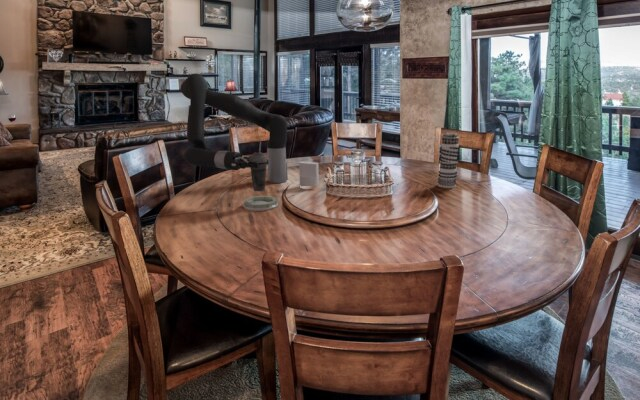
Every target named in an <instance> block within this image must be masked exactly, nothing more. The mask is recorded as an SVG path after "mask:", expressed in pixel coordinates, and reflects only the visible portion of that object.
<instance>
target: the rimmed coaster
mask: <svg viewBox="0 0 640 400" xmlns="http://www.w3.org/2000/svg"><path fill="white" fill-rule="evenodd" d="M243 202H244V203H243V204H242V208H243V209H244V210H246V211H251V212H265V211H266V212H267V211H272V210H274V209H277V208H278V206H279V205H278V204H279V202H278V200H277V198H276V197H275V196H269V195H258V196H257V195H256V196H251V197H247V198H245V199H243Z"/></svg>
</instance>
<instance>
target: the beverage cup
mask: <svg viewBox="0 0 640 400" xmlns="http://www.w3.org/2000/svg"><path fill="white" fill-rule="evenodd" d="M261 147H262V140H259V148H258V151H255V152H253V153H252V154H251V155H249V156H250V160H249V162H257V163H258V168H250V173H251V183H252V188H253V191H254V192H264V191H266V179H267V168H268V164H267V156H266V155H265V153H263V152H261V151H262V150H261Z"/></svg>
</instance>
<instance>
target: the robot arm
mask: <svg viewBox="0 0 640 400" xmlns="http://www.w3.org/2000/svg"><path fill="white" fill-rule="evenodd" d="M180 92H181V94H182V95H183V96H184V97H185V98H186V99H188V100H190V102H189V103H190V104H189V113H188V117H187V121H186V124H187V125H186V135H187V136H186V137H187V142H188V143H189V144H190V145H191V146H192V147H189V148H187V149H186V150H185V152H183V158H184V160H185V162H186V163H188V164H189V165H191V166H195V167H205V166H206V167H210V168H218V169H222V170H227V171H228V170H229V171H238V170H241V169H243V170H245V169H249V168H250V169H251V168H258V163H257V162H249V160H250V156H251V155H248V156H246V155H245V156H243V155H242V153H241V152H238V151H232V150H231V151H229V150H213V149H212V150H208V149H207V144H206V141H205V105H207V106H209V107H211V108H213V109H216V110H218V111H220V112H223V113H225V114H227V115H230V116H232V117H233V118H234V117H235V118H237V119H240V120H242V121H244V122H249V123H252V124H254V125H256V126H258V127H260V128H262V129H263V130H265V131H267V132H269V139H268V141H267V142H266V153H267V156H266V158H267V180H268V182H269V183H270V184H271V183H272V184H281V183H286V182H287V181H288V180H289V177H288V162H287V150H286V148H287V145H286V144H287V141H288V123H287V120H286V118H285V117H284V116H283V115H281V114H276V113H270V112H267V111H265V110H262V109H260V108H258V107H257V106H255V105H254V104H252V103H251V102H250V101H248V100H246V99H244V98H242V97H240V96H238V95H235V94H232V93H227V92H219V91H214V90H211V89H209V88H208V83H207V80H206V78H205V77H204V76H203V75H201V74H199V73H193V74H190V75H189V76H187V78H185V80H183V81H182V83H181V85H180Z"/></svg>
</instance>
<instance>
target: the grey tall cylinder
mask: <svg viewBox="0 0 640 400" xmlns="http://www.w3.org/2000/svg"><path fill="white" fill-rule="evenodd" d="M440 137H441V143H440V144H441V145H440V147H439V151H438V152H439V153H440V154H439V158H438V159H439V164H440V165H439V170H438V174H437V175H438V178H437V186H438V187H440V188H445V189H454V188H456V187H457V186H456V184H457V180H458V179H457V176H458V175H457V174H458V172H457V170H458V169H457V164H458V163H459V159H458V157H459V156H460V155H459V154H460V151H459V150H461V149H460V145H459V144H460V143H459V141H460V140H459V139H460V136H458V134H457V133H454V132H445V133H443V134H442V136H440Z"/></svg>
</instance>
